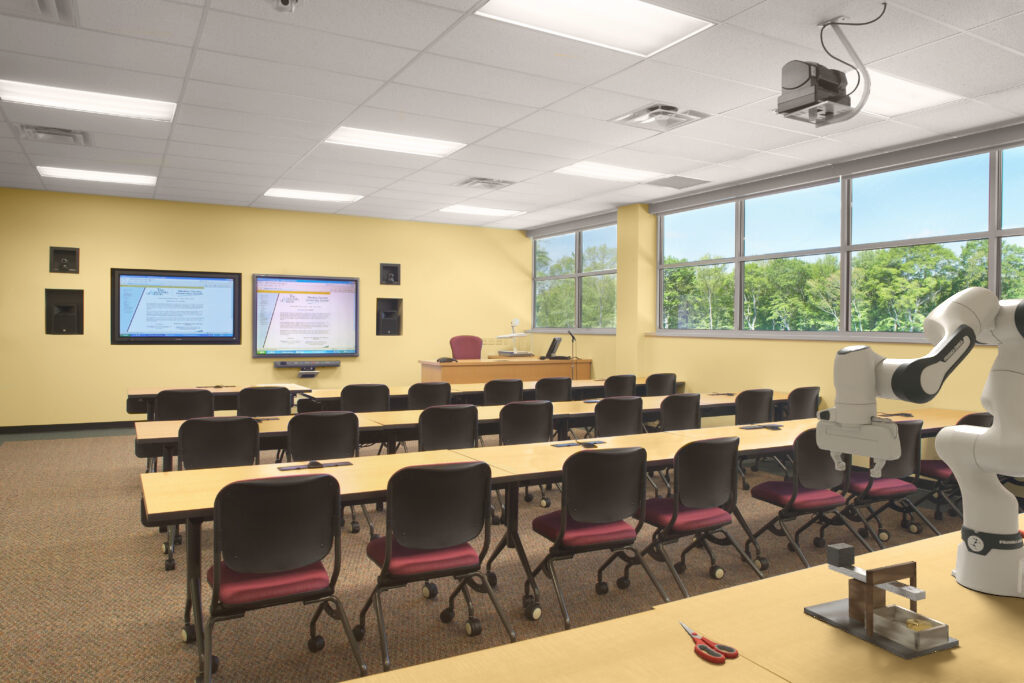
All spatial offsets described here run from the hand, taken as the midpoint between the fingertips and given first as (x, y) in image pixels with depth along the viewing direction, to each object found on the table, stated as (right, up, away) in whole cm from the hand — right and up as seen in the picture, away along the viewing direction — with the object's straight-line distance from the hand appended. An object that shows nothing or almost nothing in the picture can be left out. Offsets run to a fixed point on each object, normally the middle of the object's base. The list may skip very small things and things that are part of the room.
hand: (857, 473), depth 155 cm
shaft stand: (-4, -29, -16) cm, 34 cm away
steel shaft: (-5, -20, -15) cm, 26 cm away
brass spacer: (-1, -25, -25) cm, 35 cm away
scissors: (-44, -30, -21) cm, 57 cm away
